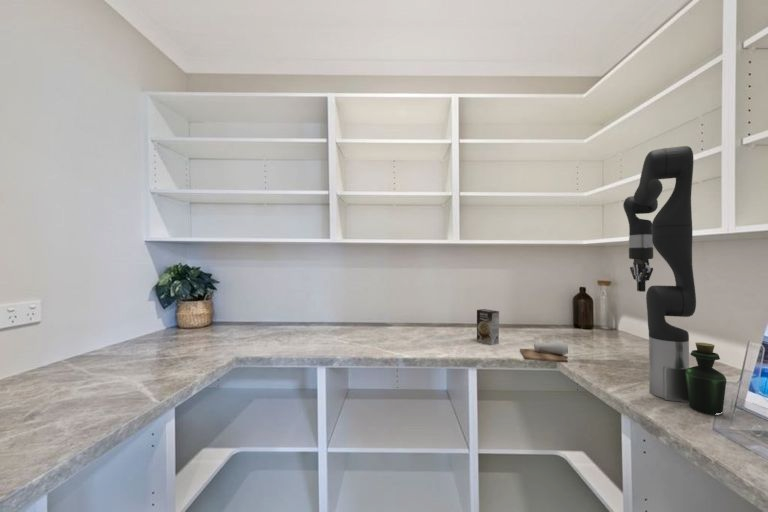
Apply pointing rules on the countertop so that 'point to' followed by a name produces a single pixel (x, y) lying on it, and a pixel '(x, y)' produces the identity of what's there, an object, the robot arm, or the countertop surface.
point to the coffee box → (488, 326)
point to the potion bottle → (705, 381)
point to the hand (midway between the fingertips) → (641, 291)
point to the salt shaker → (552, 347)
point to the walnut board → (542, 355)
